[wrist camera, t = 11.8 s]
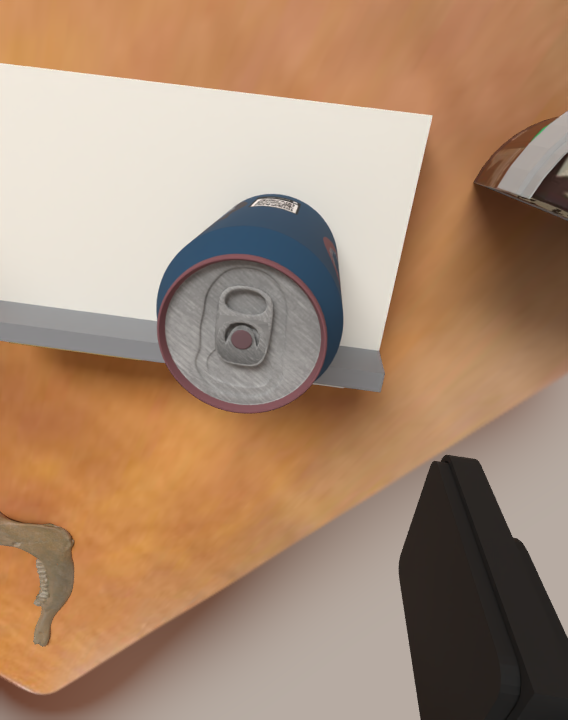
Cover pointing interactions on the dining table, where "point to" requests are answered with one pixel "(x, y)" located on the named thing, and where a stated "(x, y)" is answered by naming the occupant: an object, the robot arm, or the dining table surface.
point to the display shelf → (184, 202)
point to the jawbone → (44, 566)
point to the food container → (533, 167)
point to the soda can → (253, 306)
